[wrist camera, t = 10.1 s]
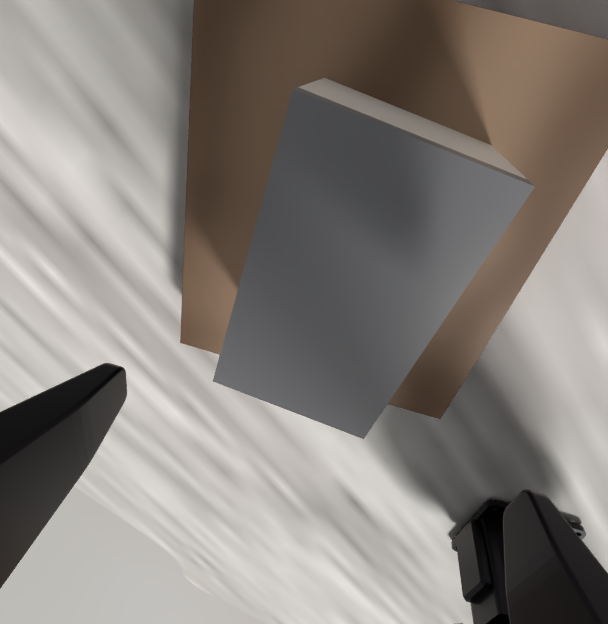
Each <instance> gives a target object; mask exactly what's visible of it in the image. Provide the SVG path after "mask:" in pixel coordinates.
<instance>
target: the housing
mask: <svg viewBox="0 0 608 624" xmlns="http://www.w3.org/2000/svg"><path fill="white" fill-rule="evenodd" d="M534 188H535V186H534V185H533V184H532V183H531V182H530V181H529V180H528V179H527V178H526V177H524V176H523V175H522V174H521V173H520V172H519V171H518V170H517V169H516V168H515V167H514V166H513V165H512V164H511V163H510V162H509V161H508V160H507V159H506V158H505V157H503V156H502V155H501V154H500V153H499V152H498V151H497V150H496V149H495V148H494V147H493V146H492V145H490V144H487V143H485V142H482V141H480V140H477V139H475V138H472V137H470V136H467V135H465V134H463V133H460V132H458V131H455V130H453V129H450V128H448V127H445V126H443V125H440V124H438V123H435V122H433V121H430V120H428V119H425V118H423V117H421V116H418V115H416V114H413V113H411V112H408V111H406V110H403V109H401V108H398V107H396V106H393V105H391V104H388V103H386V102H383V101H381V100H379V99H376V98H374V97H371V96H369V95H366V94H364V93H361V92H359V91H356V90H354V89H351V88H349V87H346V86H344V85H341V84H339V83H336V82H334V81H332V80H329V79H327V78H323V79H320V80H317V81H314V82H311V83H308V84H305V85H303V86H300V87H297V88H294V89H293V90H292V94H291V97H290V101H289V105H288V108H287V112H286V116H285V119H284V123H283V127H282V130H281V134H280V138H279V141H278V145H277V148H276V152H275V156H274V159H273V163H272V167H271V170H270V174H269V178H268V181H267V185H266V189H265V192H264V196H263V200H262V203H261V207H260V211H259V214H258V218H257V222H256V225H255V229H254V233H253V236H252V240H251V244H250V247H249V251H248V255H247V258H246V262H245V266H244V269H243V273H242V277H241V280H240V284H239V288H238V291H237V295H236V298H235V302H234V306H233V309H232V313H231V317H230V320H229V324H228V328H227V331H226V335H225V339H224V342H223V346H222V350H221V353H220V357H219V361H218V364H217V368H216V372H215V375H214V379H213V381H214V382H216V383H219V384H222V385H224V386H227V387H229V388H232V389H235V390H237V391H240V392H242V393H245V394H248V395H250V396H253V397H255V398H258V399H261V400H263V401H266V402H269V403H271V404H274V405H276V406H279V407H282V408H284V409H287V410H289V411H292V412H295V413H297V414H300V415H302V416H305V417H308V418H310V419H313V420H316V421H318V422H321V423H323V424H326V425H329V426H331V427H334V428H336V429H339V430H342V431H344V432H347V433H349V434H352V435H355V436H357V437H360V438H363V439H364V438H365V436H366V435H367V433H368V432H369V430H370V429H371V427H372V426H373V424H374V423H375V421H376V420H377V418H378V417H379V415H380V414H381V413H382V411H383V410H384V408H385V407H386V405H387V404H388V402H389V401H390V399H391V398H392V396H393V395H394V393H395V392H396V390H397V389H398V388H399V386H400V385H401V383H402V382H403V380H404V379H405V377H406V376H407V374H408V373H409V371H410V370H411V368H412V367H413V365H414V364H415V363H416V361H417V360H418V358H419V357H420V355H421V354H422V352H423V351H424V349H425V348H426V346H427V345H428V343H429V342H430V340H431V339H432V338H433V336H434V335H435V333H436V332H437V330H438V329H439V327H440V326H441V324H442V323H443V321H444V320H445V318H446V317H447V315H448V314H449V313H450V311H451V310H452V308H453V307H454V305H455V304H456V302H457V301H458V299H459V298H460V296H461V295H462V293H463V292H464V290H465V289H466V288H467V286H468V285H469V283H470V282H471V280H472V279H473V277H474V276H475V274H476V273H477V271H478V270H479V268H480V267H481V265H482V264H483V263H484V261H485V260H486V258H487V257H488V255H489V254H490V252H491V251H492V249H493V248H494V246H495V245H496V243H497V242H498V240H499V239H500V238H501V236H502V235H503V233H504V232H505V230H506V229H507V227H508V226H509V224H510V223H511V221H512V220H513V218H514V217H515V215H516V214H517V213H518V211H519V210H520V208H521V207H522V205H523V204H524V202H525V201H526V199H527V198H528V196H529V195H530V193H531V192H532V190H533V189H534Z"/></svg>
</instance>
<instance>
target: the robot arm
mask: <svg viewBox="0 0 608 624" xmlns="http://www.w3.org/2000/svg"><path fill="white" fill-rule="evenodd" d="M126 396H127V384H126V371H125V369H124V368H123V367H121V366H117V365H114V364H111V363H105V364H102V365H99V366H97V367H95V368H93V369H91V370H89V371H87V372H85V373H82V374H80V375H78V376H76V377H74V378H72V379H70V380H67V381H65V382H63V383H61V384H59V385H57V386H55V387H53V388H50V389H48V390H46V391H44V392H42V393H40V394H38V395H35V396H33V397H31V398H29V399H27V400H25V401H23V402H21V403H18V404H16V405H14V406H12V407H10V408H8V409H6V410H3V411H1V412H0V588H1V587H2V585H3V584H4V583H5V581H6V580H7V578H8V577H9V576H10V574H11V573H12V571H13V570H14V569H15V567H16V566H17V564H18V563H19V562H20V560H21V559H22V557H23V556H24V555H25V553H26V552H27V550H28V549H29V548H30V546H31V545H32V543H33V542H34V540H35V539H36V538H37V536H38V535H39V534H40V532H41V531H42V529H43V528H44V527H45V525H46V524H47V523H48V521H49V520H50V518H51V517H52V515H53V514H54V512H55V511H56V510H57V509H58V507H59V505H60V504H61V503H62V501H63V500H64V499H65V497H66V496H67V494H68V493H69V492H70V490H71V489H72V487H73V486H74V485H75V483H76V482H77V481H78V479H79V478H80V476H81V475H82V474H83V472H84V471H85V469H86V468H87V466H88V465H89V463H90V462H91V460H92V458H93V457H94V455H95V453H96V451H97V450H98V448H99V446H100V444H101V443H102V441H103V439H104V437H105V436H106V434H107V432H108V430H109V428H110V427H111V425H112V423H113V421H114V420H115V418H116V416H117V414H118V413H119V411H120V409H121V407H122V406H123V404H124V402H125V399H126ZM585 536H586V533H585V530H584V528H583V527H582V526H581V525H578V524H575V523H572V522H568V521H566V520H565V518H564V517H563V516H562V514H561V513H560V512H559V511H558V509H557V508H556V507H555V506H554V504H553V503H552V502H551V500H550V499H549V498H548V497H547V496H545V495H544V494H541V493H538V492H535V491H532V490H527V489H526V490H523V491H522V492H520V493H519V495H518V496H517V497H516V498H515V499H514V500H513V501H512V502H511V503H510V504H508V503H505V502H502V501H498V500H488V501H487V502H486V503H485V504H484V505H483V506H482V507H481V508H480V510H479V511H478V512H477V513H476V514H475V515H474V516H473V518H472V519H471V520H470V521H469V522H468V523H467V524H466V525H465V527H464V528H463V529H462V530H461V531H460V532H459V533H458V535H457V536H456V537H455V538H454V539H453V540H452V542H451V543H452V549H453V550H454V551H457V552H458V560H459V568H460V576H461V584H462V592H463V597H464V599H465V600H466V601H467V602H470V603H471V609H472V616H473V624H608V573H607V572H606V571H605V569H604V568H603V567H602V565H601V564H600V563H599V562H598V560H597V559H596V558H595V556H594V555H593V554H592V553H591V551H590V550H589V549H588V548H587V546H586V545H585V544H584V542H583V541H582V540H581V539H583V538H584V537H585ZM461 624H463V623H461Z"/></svg>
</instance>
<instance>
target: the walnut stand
mask: <svg viewBox="0 0 608 624" xmlns="http://www.w3.org/2000/svg"><path fill="white" fill-rule="evenodd" d="M323 78H327V79H329V80H332V81H334V82H336V83H339V84H341V85H344V86H346V87H349V88H351V89H354V90H356V91H359V92H361V93H364V94H366V95H369V96H371V97H374V98H376V99H379V100H381V101H383V102H386V103H388V104H391V105H393V106H396V107H398V108H401V109H403V110H406V111H408V112H411V113H413V114H416V115H418V116H421V117H423V118H425V119H428V120H430V121H433V122H435V123H438V124H440V125H443V126H445V127H448V128H450V129H453V130H455V131H458V132H460V133H463V134H465V135H467V136H470V137H472V138H475V139H477V140H480V141H482V142H485V143H487V144H490V145H492V146H493V147H494V148H495V149H496V150H497V151H498V152H499V153H500V154H501V155H502V156H503V157H505V158H506V159H507V160H508V161H509V162H510V163H511V164H512V165H513V166H514V167H515V168H516V169H517V170H518V171H519V172H520V173H521V174H522V175H523V176H524V177H526V178H527V179H528V180H529V181H530V182H531V183H532V184H533V185H534V186H535V188H534V189H533V190H532V192H531V193H530V195H529V196H528V198H527V199H526V201H525V202H524V204H523V205H522V207H521V208H520V210H519V211H518V213H517V214H516V215H515V217H514V218H513V220H512V221H511V223H510V224H509V226H508V227H507V229H506V230H505V232H504V233H503V235H502V236H501V238H500V239H499V240H498V242H497V243H496V245H495V246H494V248H493V249H492V251H491V252H490V254H489V255H488V257H487V258H486V260H485V261H484V263H483V264H482V265H481V267H480V268H479V270H478V271H477V273H476V274H475V276H474V277H473V279H472V280H471V282H470V283H469V285H468V286H467V288H466V289H465V290H464V292H463V293H462V295H461V296H460V298H459V299H458V301H457V302H456V304H455V305H454V307H453V308H452V310H451V311H450V313H449V314H448V315H447V317H446V318H445V320H444V321H443V323H442V324H441V326H440V327H439V329H438V330H437V332H436V333H435V335H434V336H433V338H432V339H431V340H430V342H429V343H428V345H427V346H426V348H425V349H424V351H423V352H422V354H421V355H420V357H419V358H418V360H417V361H416V363H415V364H414V365H413V367H412V368H411V370H410V371H409V373H408V374H407V376H406V377H405V379H404V380H403V382H402V383H401V385H400V386H399V388H398V389H397V390H396V392H395V393H394V395H393V396H392V398H391V399H390V401H389V402H388V404H390V405H394V406H397V407H401V408H404V409H407V410H411V411H414V412H418V413H421V414H424V415H428V416H431V417H435V418H438V419H441V417H442V416H443V414H444V413H445V411H446V409H447V408H448V406H449V405H450V403H451V401H452V400H453V398H454V396H455V395H456V393H457V392H458V390H459V388H460V387H461V385H462V383H463V382H464V380H465V379H466V377H467V375H468V374H469V372H470V371H471V369H472V367H473V366H474V364H475V362H476V361H477V359H478V358H479V356H480V354H481V353H482V351H483V350H484V348H485V346H486V345H487V343H488V341H489V340H490V338H491V337H492V335H493V333H494V332H495V330H496V328H497V327H498V325H499V324H500V322H501V320H502V319H503V317H504V316H505V314H506V312H507V311H508V309H509V307H510V306H511V304H512V303H513V301H514V299H515V298H516V296H517V295H518V293H519V291H520V290H521V288H522V286H523V285H524V283H525V282H526V280H527V278H528V277H529V275H530V273H531V272H532V270H533V269H534V267H535V265H536V264H537V262H538V261H539V259H540V257H541V256H542V254H543V252H544V251H545V249H546V248H547V246H548V244H549V243H550V241H551V240H552V238H553V236H554V235H555V233H556V231H557V230H558V228H559V227H560V225H561V223H562V222H563V220H564V218H565V217H566V215H567V214H568V212H569V210H570V209H571V207H572V206H573V204H574V202H575V201H576V199H577V197H578V196H579V194H580V193H581V191H582V189H583V188H584V186H585V185H586V183H587V181H588V180H589V178H590V176H591V175H592V173H593V172H594V170H595V168H596V167H597V165H598V163H599V162H600V160H601V159H602V157H603V155H604V154H605V152H606V151H607V149H608V39H604V38H600V37H596V36H592V35H588V34H584V33H580V32H576V31H572V30H568V29H564V28H560V27H556V26H552V25H548V24H544V23H540V22H536V21H532V20H528V19H524V18H520V17H516V16H512V15H508V14H504V13H500V12H496V11H492V10H488V9H484V8H480V7H476V6H472V5H469V4H465V3H461V2H457V1H453V0H194V13H193V38H192V63H191V89H190V114H189V139H188V164H187V189H186V214H185V239H184V264H183V289H182V314H181V340H180V343H183V344H186V345H190V346H193V347H197V348H200V349H203V350H207V351H210V352H214V353H217V354H220V353H221V350H222V346H223V342H224V339H225V335H226V331H227V328H228V324H229V320H230V317H231V313H232V309H233V306H234V302H235V298H236V295H237V291H238V288H239V284H240V280H241V277H242V273H243V269H244V266H245V262H246V258H247V255H248V251H249V247H250V244H251V240H252V236H253V233H254V229H255V225H256V222H257V218H258V214H259V211H260V207H261V203H262V200H263V196H264V192H265V189H266V185H267V181H268V178H269V174H270V170H271V167H272V163H273V159H274V156H275V152H276V148H277V145H278V141H279V138H280V134H281V130H282V127H283V123H284V119H285V116H286V112H287V108H288V105H289V101H290V97H291V94H292V90H293V89H294V88H297V87H300V86H303V85H305V84H308V83H311V82H314V81H317V80H320V79H323Z"/></svg>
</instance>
